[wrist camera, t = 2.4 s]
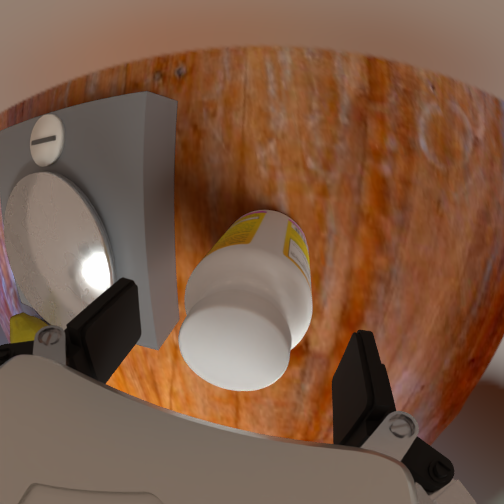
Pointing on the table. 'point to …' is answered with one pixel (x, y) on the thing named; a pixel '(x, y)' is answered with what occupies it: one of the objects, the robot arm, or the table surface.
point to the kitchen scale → (113, 187)
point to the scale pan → (57, 246)
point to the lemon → (24, 327)
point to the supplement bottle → (248, 303)
